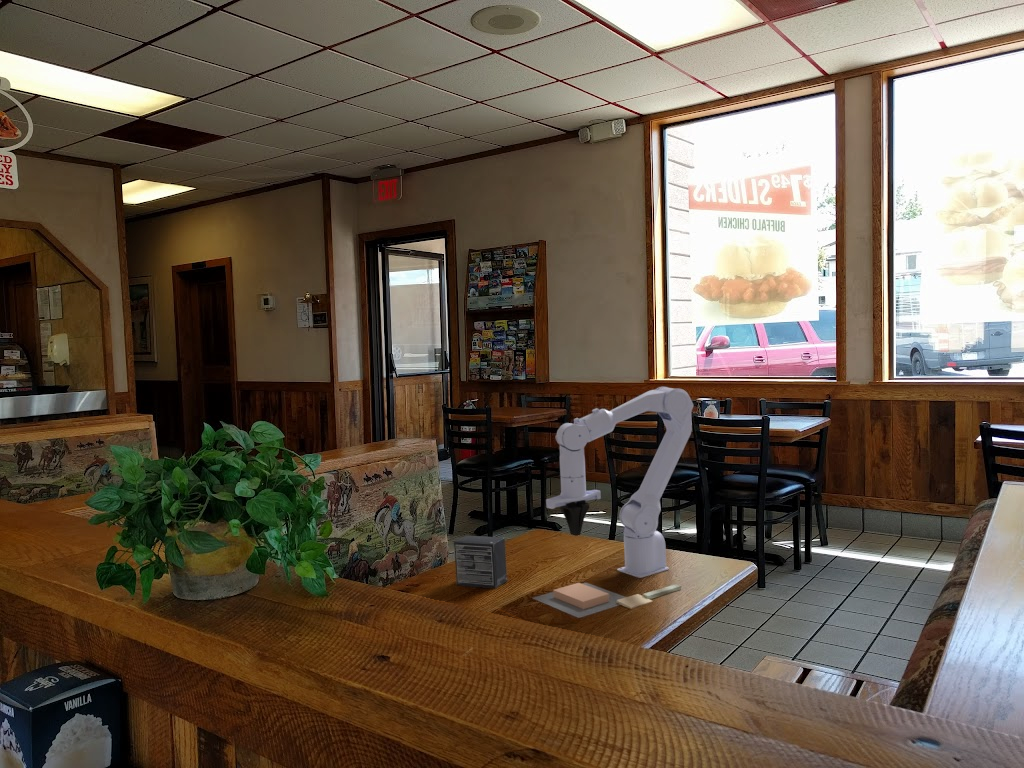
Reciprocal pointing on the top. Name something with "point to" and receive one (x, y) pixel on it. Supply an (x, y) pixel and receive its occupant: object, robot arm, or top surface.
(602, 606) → the mat
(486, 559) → the small box
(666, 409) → the robot arm
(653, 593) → the turner
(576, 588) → the block
